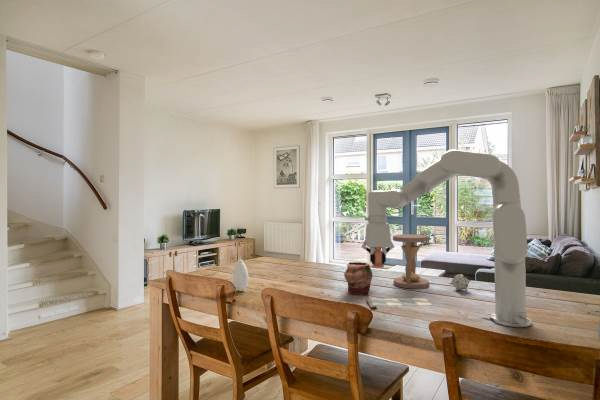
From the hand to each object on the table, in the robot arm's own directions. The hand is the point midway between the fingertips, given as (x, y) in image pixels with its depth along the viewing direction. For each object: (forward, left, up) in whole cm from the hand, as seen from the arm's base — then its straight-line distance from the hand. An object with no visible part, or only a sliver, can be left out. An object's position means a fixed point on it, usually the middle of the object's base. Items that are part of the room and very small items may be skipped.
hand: (378, 263), depth 150 cm
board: (0, -9, -17) cm, 20 cm away
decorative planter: (+21, +5, -18) cm, 28 cm away
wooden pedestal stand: (+34, -23, -18) cm, 45 cm away
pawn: (0, 0, -2) cm, 2 cm away
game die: (+22, -43, -18) cm, 51 cm away
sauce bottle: (+24, +63, -18) cm, 70 cm away
